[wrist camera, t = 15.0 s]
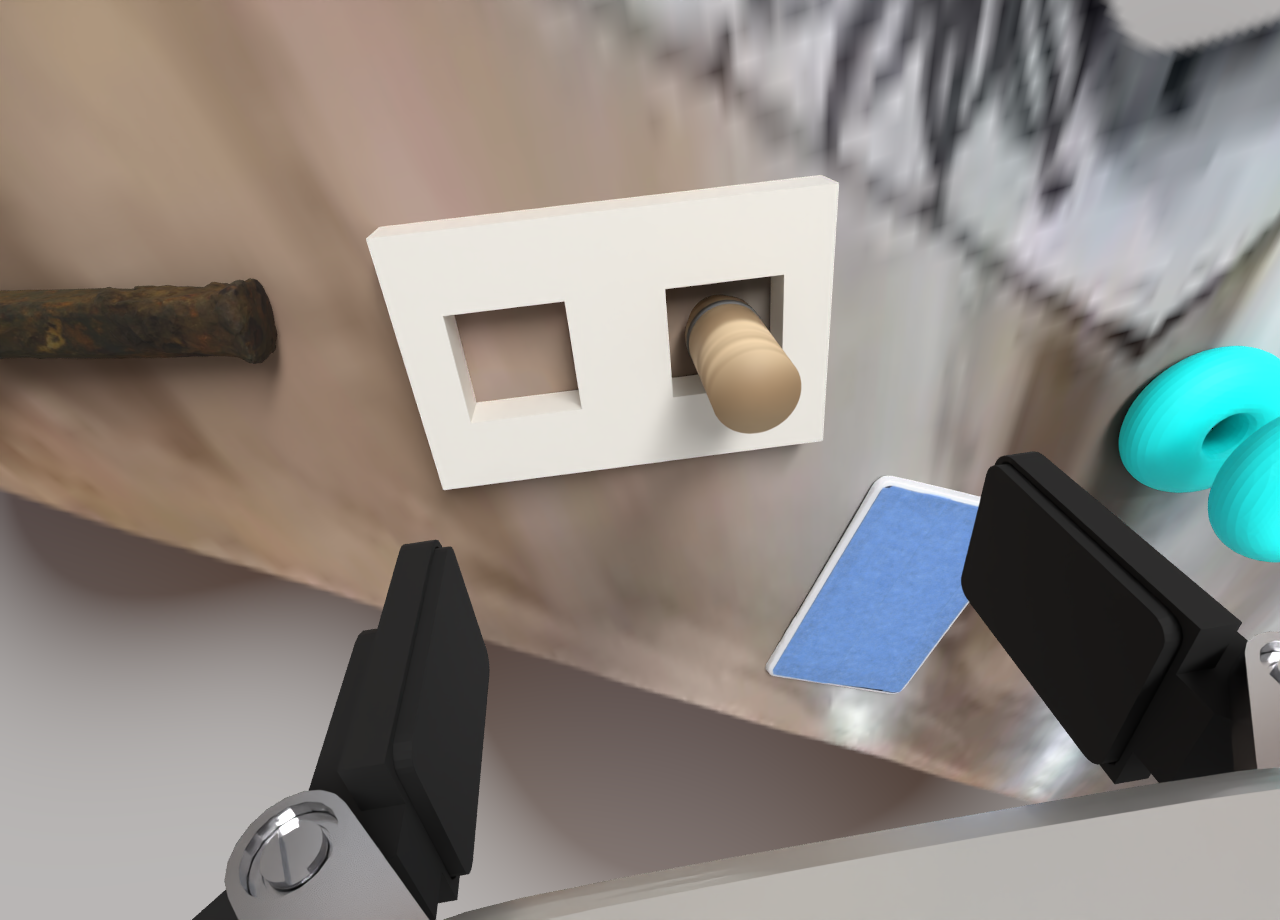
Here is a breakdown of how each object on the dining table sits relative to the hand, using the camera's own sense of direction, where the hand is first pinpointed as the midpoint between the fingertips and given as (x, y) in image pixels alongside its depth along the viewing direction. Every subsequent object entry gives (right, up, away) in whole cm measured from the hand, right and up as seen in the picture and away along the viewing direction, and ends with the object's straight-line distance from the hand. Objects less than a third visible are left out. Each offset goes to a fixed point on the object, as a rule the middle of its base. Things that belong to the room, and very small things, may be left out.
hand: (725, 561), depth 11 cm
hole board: (-3, +9, +24) cm, 26 cm away
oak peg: (+3, +9, +25) cm, 27 cm away
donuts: (+34, +5, +31) cm, 46 cm away
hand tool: (-30, +9, +22) cm, 38 cm away
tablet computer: (+17, -8, +38) cm, 42 cm away
